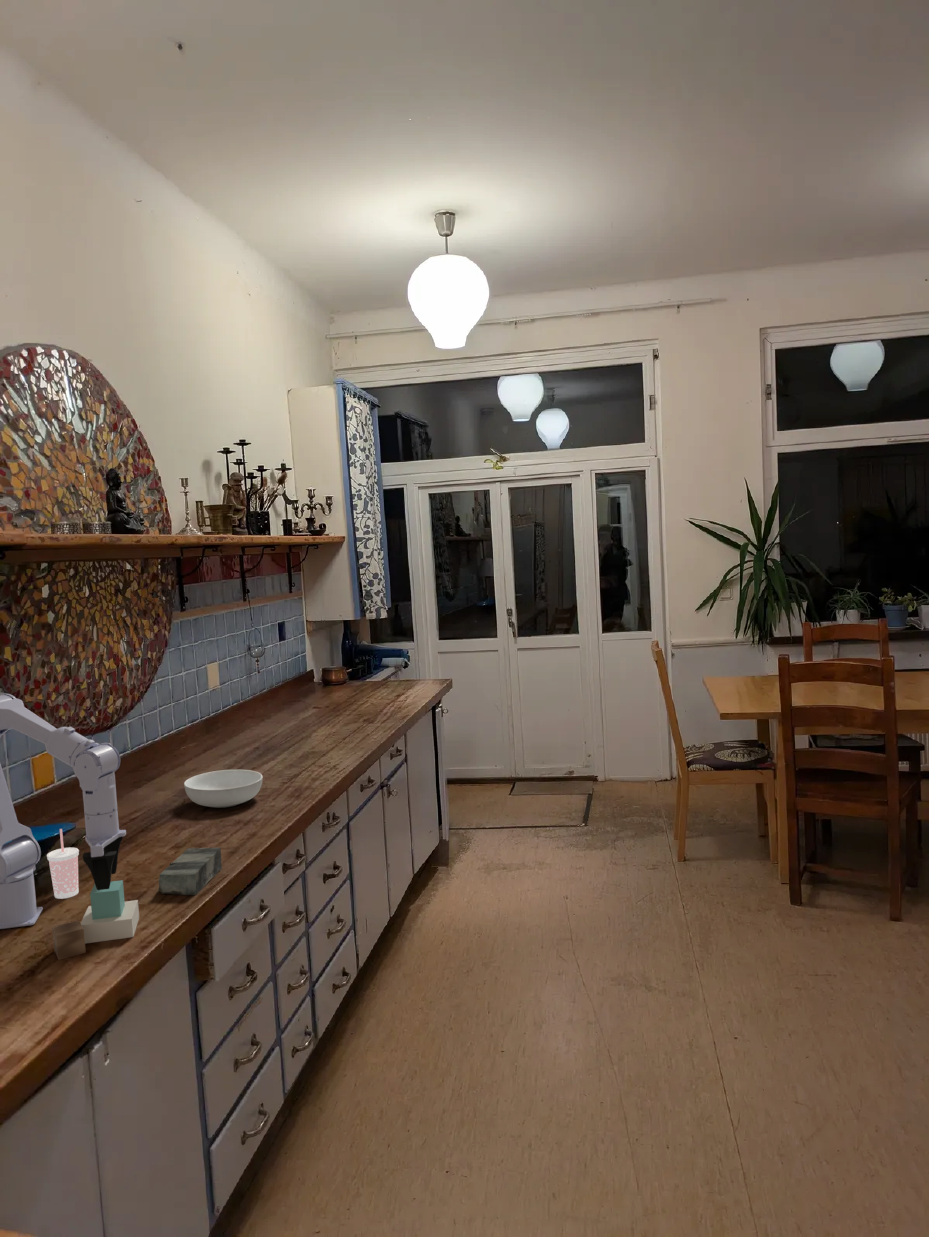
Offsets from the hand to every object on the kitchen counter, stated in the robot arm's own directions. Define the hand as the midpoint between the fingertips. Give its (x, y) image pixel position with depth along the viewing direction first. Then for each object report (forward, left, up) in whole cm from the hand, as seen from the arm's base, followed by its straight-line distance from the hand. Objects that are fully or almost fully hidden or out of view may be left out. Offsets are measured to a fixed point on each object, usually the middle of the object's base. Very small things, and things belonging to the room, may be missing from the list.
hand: (106, 881), depth 170 cm
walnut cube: (-6, -7, -10) cm, 13 cm away
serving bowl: (+19, +78, -10) cm, 80 cm away
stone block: (+13, +20, -10) cm, 26 cm away
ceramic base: (0, 0, -10) cm, 10 cm away
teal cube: (0, 0, -6) cm, 6 cm away
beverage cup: (-12, +22, -10) cm, 27 cm away
